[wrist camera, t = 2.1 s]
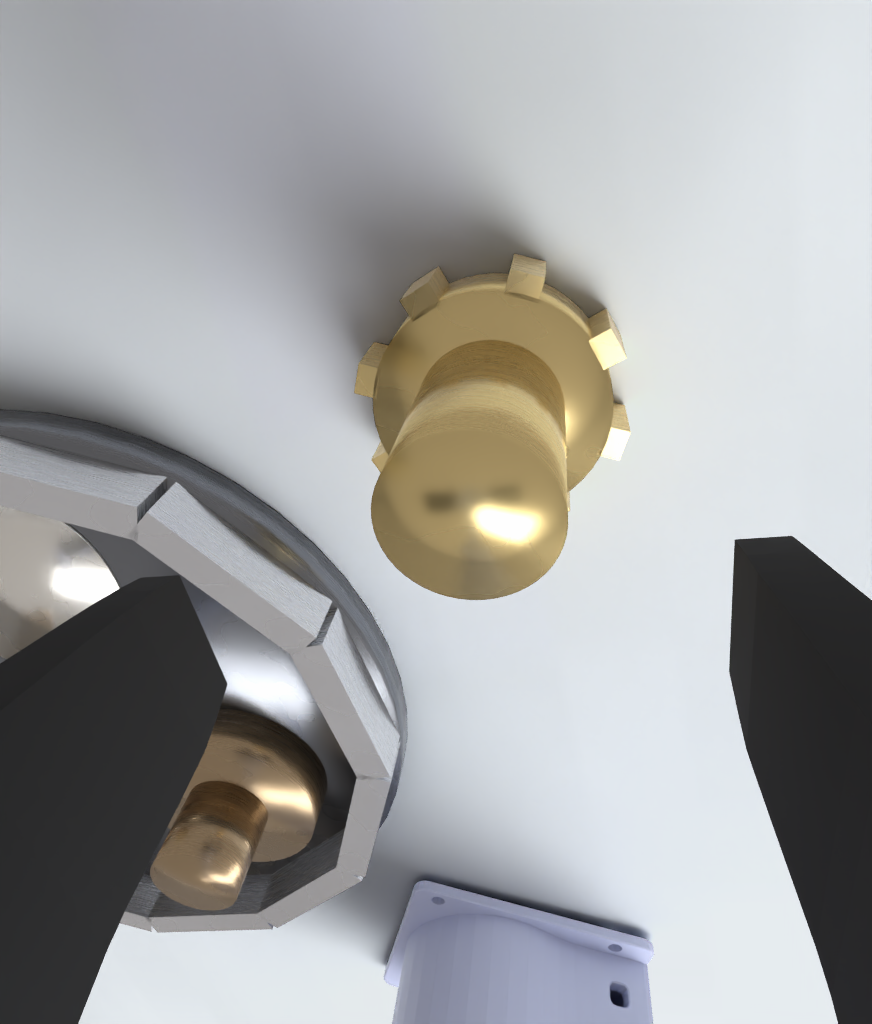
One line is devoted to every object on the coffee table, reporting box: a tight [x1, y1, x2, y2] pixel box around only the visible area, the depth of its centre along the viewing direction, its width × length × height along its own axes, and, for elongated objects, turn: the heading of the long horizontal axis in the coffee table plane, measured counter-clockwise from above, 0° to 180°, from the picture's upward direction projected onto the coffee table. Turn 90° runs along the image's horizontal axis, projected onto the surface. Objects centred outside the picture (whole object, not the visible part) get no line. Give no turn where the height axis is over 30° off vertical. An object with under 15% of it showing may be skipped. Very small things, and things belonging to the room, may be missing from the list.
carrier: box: [0, 410, 407, 932], centre depth 22 cm, size 21×21×5 cm
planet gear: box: [354, 254, 630, 600], centre depth 14 cm, size 6×6×6 cm
